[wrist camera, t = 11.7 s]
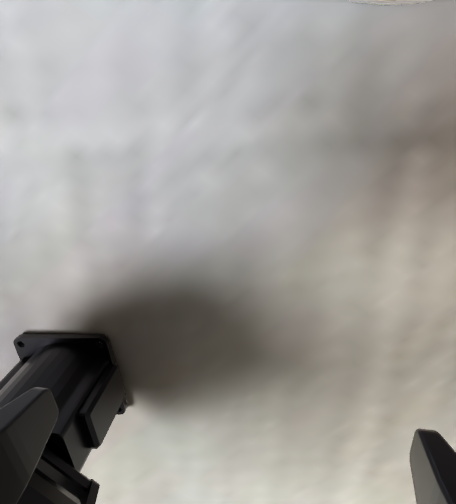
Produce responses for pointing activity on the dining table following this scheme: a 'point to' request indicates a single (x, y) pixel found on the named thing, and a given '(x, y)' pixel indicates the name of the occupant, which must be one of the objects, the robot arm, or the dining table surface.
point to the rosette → (390, 2)
